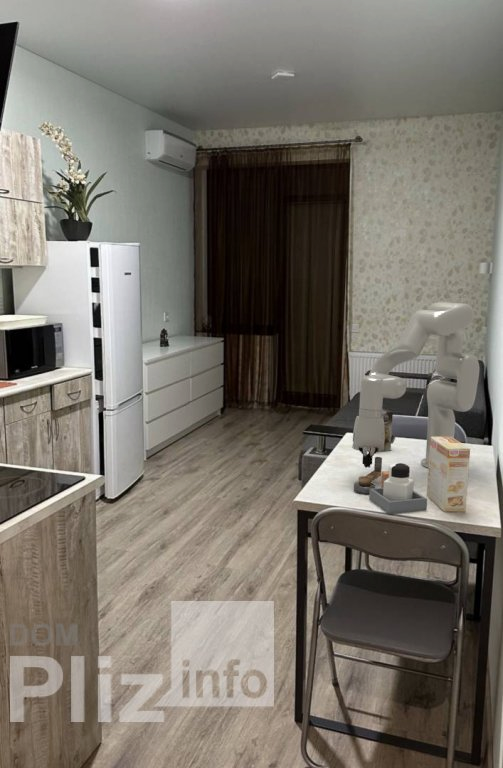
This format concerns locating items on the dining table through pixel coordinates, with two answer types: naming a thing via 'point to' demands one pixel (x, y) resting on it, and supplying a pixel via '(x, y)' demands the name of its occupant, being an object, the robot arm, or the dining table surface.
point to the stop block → (384, 477)
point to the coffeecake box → (448, 473)
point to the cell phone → (392, 438)
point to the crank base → (363, 488)
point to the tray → (397, 502)
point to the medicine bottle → (398, 483)
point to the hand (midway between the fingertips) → (367, 466)
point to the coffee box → (386, 430)
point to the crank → (372, 473)
